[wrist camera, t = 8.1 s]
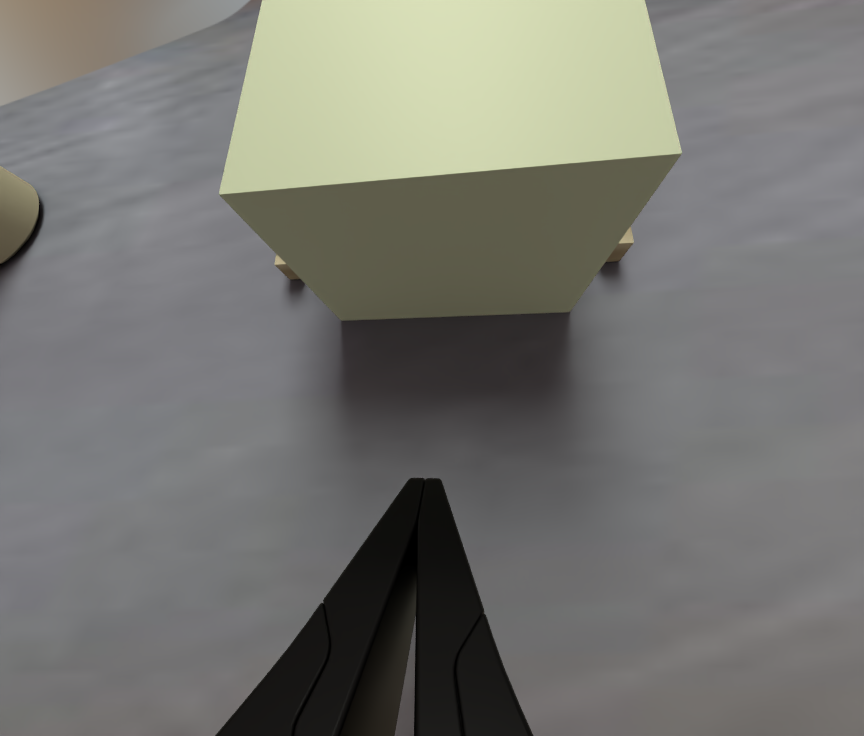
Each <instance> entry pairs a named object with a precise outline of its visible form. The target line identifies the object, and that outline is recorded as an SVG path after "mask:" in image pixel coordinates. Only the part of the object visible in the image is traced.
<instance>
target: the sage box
mask: <svg viewBox="0 0 864 736" xmlns="http://www.w3.org/2000/svg"><path fill="white" fill-rule="evenodd" d="M681 154H682V152H681V148H680V143H679V139H678V135H677V131H676V127H675V123H674V119H673V115H672V111H671V106H670V102H669V98H668V94H667V90H666V86H665V82H664V78H663V74H662V70H661V65H660V61H659V57H658V53H657V49H656V45H655V41H654V37H653V33H652V28H651V24H650V20H649V16H648V12H647V8H646V4H645V0H262V4H261V8H260V13H259V17H258V22H257V26H256V31H255V35H254V40H253V44H252V49H251V53H250V58H249V62H248V67H247V71H246V75H245V80H244V84H243V89H242V93H241V98H240V102H239V107H238V111H237V116H236V120H235V125H234V129H233V134H232V138H231V142H230V147H229V151H228V156H227V160H226V165H225V169H224V174H223V178H222V183H221V187H220V192H219V195H220V196H221V197H222V198H223V199H224V200H225V201H226V202H227V203H228V204H229V205H230V207H231V208H232V209H233V210H234V211H235V212H236V213H237V214H238V215H239V216H240V217H241V218H242V219H243V220H244V221H245V222H246V223H247V224H248V225H249V226H250V227H251V228H252V229H253V230H254V231H255V232H256V233H257V234H258V235H259V236H260V237H261V238H262V240H263V241H264V242H265V243H266V244H267V245H268V246H269V247H270V248H271V249H272V250H273V251H274V252H275V253H276V254H277V255H278V256H279V257H280V258H281V259H282V260H283V261H284V262H285V263H286V264H287V265H288V266H289V267H290V268H291V269H292V270H293V271H294V273H295V274H296V275H297V276H298V277H299V278H300V279H301V280H302V281H303V282H304V283H305V284H306V285H307V286H308V287H309V288H310V289H311V290H312V291H313V292H314V293H315V294H316V295H317V296H318V297H319V298H320V299H321V300H322V301H323V302H324V303H325V304H326V306H327V307H328V308H329V309H330V310H331V311H332V312H333V313H334V314H335V315H336V316H337V317H338V318H339V319H340V320H341V321H347V320H374V319H400V318H426V317H452V316H479V315H505V314H531V313H557V312H570V311H571V310H572V308H573V307H574V306H575V304H576V303H577V301H578V300H579V299H580V297H581V296H582V294H583V293H584V291H585V290H586V289H587V287H588V286H589V284H590V283H591V282H592V280H593V279H594V277H595V276H596V274H597V273H598V272H599V270H600V269H601V267H602V266H603V265H604V263H605V262H606V260H607V259H608V257H609V256H610V255H611V253H612V252H613V250H614V249H615V248H616V246H617V245H618V243H619V242H620V240H621V239H622V238H623V236H624V235H625V233H626V232H627V230H628V229H629V228H630V226H631V225H632V223H633V222H634V221H635V219H636V218H637V216H638V215H639V213H640V212H641V211H642V209H643V208H644V206H645V205H646V204H647V202H648V201H649V199H650V198H651V196H652V195H653V194H654V192H655V191H656V189H657V188H658V187H659V185H660V184H661V182H662V181H663V179H664V178H665V177H666V175H667V174H668V172H669V171H670V170H671V168H672V167H673V165H674V164H675V162H676V161H677V160H678V158H679V157H680V155H681Z"/></svg>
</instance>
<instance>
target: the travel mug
mask: <svg viewBox="0 0 864 736" xmlns="http://www.w3.org/2000/svg"><path fill="white" fill-rule="evenodd" d="M38 212H39V199H38V195H37V192H36V191H35V189H34V188H33V187H32V186H31V185H30V184H29V183H27V182H25V181H24V180H22V179H20V178H19V177H17V176H16V175H14V174H12V173H11V172H9V171H7V170H6V169H4V168H2V167H1V166H0V264H2V263H4V262H6V261H7V260H9V259H10V258H11V257H12V256H14V255H15V254H16V253H17V252H18V251H19V249H20V248H21V247H22V246H23V245H24V244H25V243H26V242H27V240H28V239H29V238H30V236H31V234H32V233H33V231H34V229H35V226H36V223H37V220H38Z"/></svg>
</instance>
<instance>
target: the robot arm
mask: <svg viewBox="0 0 864 736" xmlns="http://www.w3.org/2000/svg"><path fill="white" fill-rule="evenodd" d="M323 602H324V604H323V603H321V604H320V605H319V606H318V608H317V609H316V611H315V612H314V613H313V615H312V616H311V618H310V619H309V621H308V622H307V623H306V625H305V626H304V627H303V629H302V630H301V631H300V633H299V634H298V635H297V637H296V638H295V639H294V641H293V642H292V643H291V645H290V646H289V647H288V649H287V650H286V651H285V652H284V654H283V655H282V656H281V657H280V659H279V660H278V661H277V662H276V664H275V665H274V666H273V667H272V668H271V670H270V671H269V672H268V673H267V675H266V676H265V677H264V678H263V680H262V681H261V682H260V683H259V684H258V685H257V687H256V688H255V689H254V690H253V691H252V693H251V694H250V695H249V696H248V697H247V699H246V700H245V701H244V702H243V703H242V704H241V706H240V707H239V708H238V709H237V710H236V712H235V713H234V714H233V715H232V716H231V718H230V719H229V720H228V721H227V722H226V724H225V725H224V726H223V727H222V728H221V729H220V731H219V732H218V733H217V734H216V735H215V736H394V735H395V730H396V724H397V718H398V712H399V707H400V701H401V695H402V690H403V684H404V678H405V673H406V667H407V661H408V656H409V650H410V644H411V638H412V633H413V627H414V621H415V616H416V647H415V712H414V736H533V734H532V732H531V729H530V727H529V725H528V723H527V720H526V718H525V716H524V714H523V711H522V709H521V707H520V705H519V702H518V700H517V697H516V695H515V693H514V690H513V688H512V685H511V683H510V681H509V678H508V676H507V673H506V671H505V669H504V666H503V663H502V660H501V658H500V655H499V652H498V649H497V646H496V644H495V641H494V638H493V635H492V632H491V629H490V626H489V623H488V620H487V617H486V615H485V614H484V608H483V605H482V602H481V599H480V596H479V593H478V590H477V587H476V584H475V581H474V578H473V575H472V572H471V569H470V566H469V563H468V560H467V557H466V554H465V551H464V547H463V544H462V541H461V538H460V535H459V532H458V529H457V526H456V523H455V520H454V517H453V514H452V511H451V508H450V505H449V502H448V499H447V496H446V493H445V490H444V487H443V484H442V481H441V479H439V478H427V479H426V480H425V479H424V478H410V479H409V480H408V481H407V483H406V484H405V485H404V487H403V488H402V490H401V491H400V492H399V494H398V495H397V497H396V498H395V500H394V501H393V502H392V504H391V505H390V507H389V508H388V509H387V511H386V512H385V514H384V515H383V516H382V518H381V519H380V521H379V522H378V523H377V525H376V526H375V528H374V529H373V531H372V532H371V533H370V535H369V536H368V538H367V539H366V540H365V542H364V543H363V545H362V546H361V547H360V549H359V550H358V552H357V553H356V554H355V556H354V557H353V559H352V560H351V562H350V563H349V564H348V566H347V567H346V569H345V570H344V571H343V573H342V574H341V576H340V577H339V578H338V580H337V581H336V583H335V584H334V585H333V587H332V588H331V590H330V591H329V593H328V594H327V595H326V597H325V598H324V600H323Z"/></svg>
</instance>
